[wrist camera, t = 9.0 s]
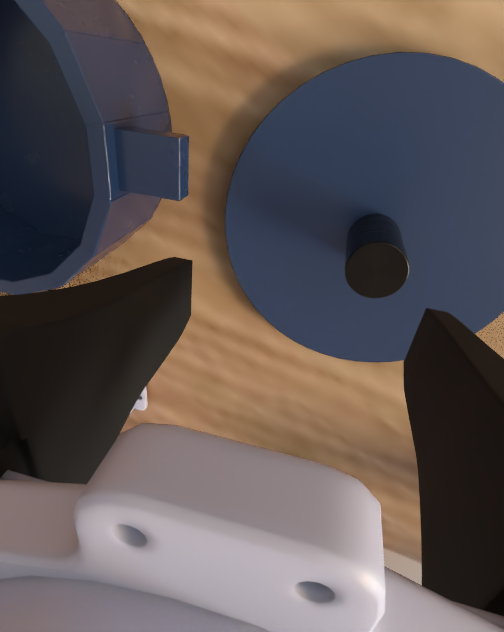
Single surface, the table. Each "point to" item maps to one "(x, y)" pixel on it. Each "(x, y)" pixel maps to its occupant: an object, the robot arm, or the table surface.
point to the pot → (78, 139)
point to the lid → (374, 205)
